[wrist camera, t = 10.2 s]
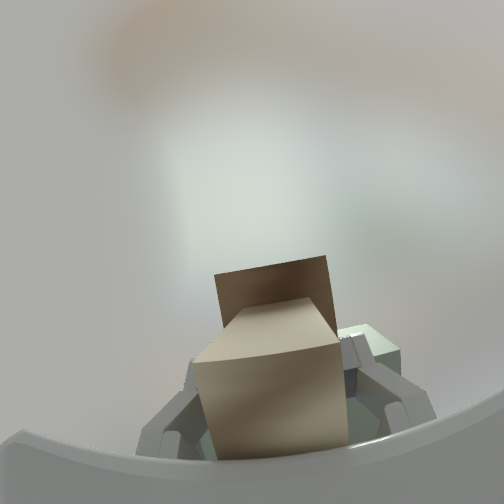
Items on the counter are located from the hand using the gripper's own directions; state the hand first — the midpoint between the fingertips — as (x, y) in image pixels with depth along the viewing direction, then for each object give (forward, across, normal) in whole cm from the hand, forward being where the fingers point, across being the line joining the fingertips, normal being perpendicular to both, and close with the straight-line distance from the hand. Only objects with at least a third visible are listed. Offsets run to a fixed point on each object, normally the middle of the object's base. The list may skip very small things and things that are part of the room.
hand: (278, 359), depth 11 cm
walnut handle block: (+2, 0, +4) cm, 4 cm away
